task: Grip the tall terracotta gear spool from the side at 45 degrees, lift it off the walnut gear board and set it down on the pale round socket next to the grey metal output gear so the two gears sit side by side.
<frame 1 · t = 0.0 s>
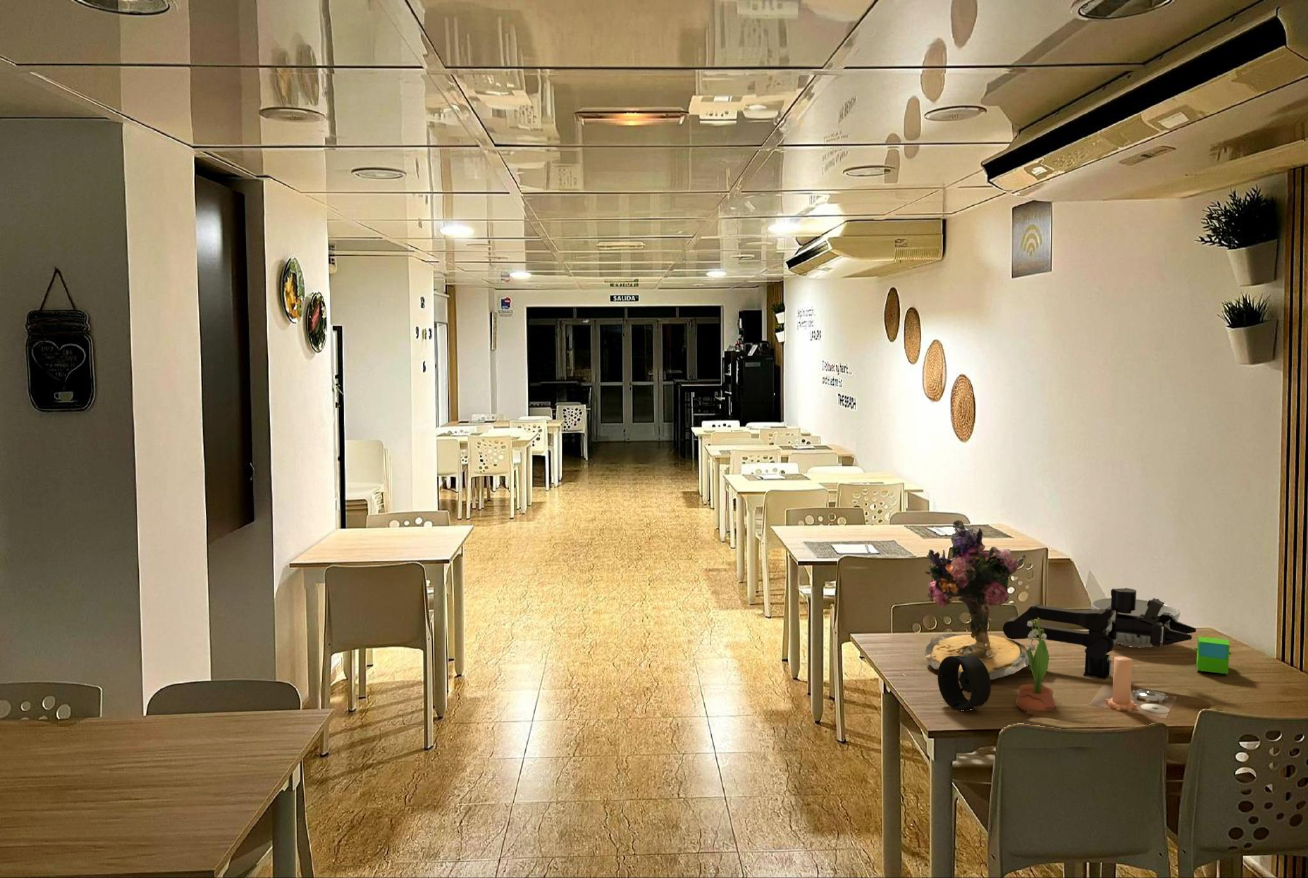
hand: (1193, 633, 307), 17 cm above the table, tool horizontal, fingers open, 9 cm apart
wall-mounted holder: (968, 708, 292), on the table
potted flower: (1033, 709, 292), on the table
gear board: (1133, 705, 295), on the table
bouquet: (978, 669, 328), on the table
output gear: (1149, 698, 297), resting on gear board
blue-striped green cube: (1211, 670, 329), on the table
gear spool: (1120, 706, 290), point 1 cm above the table, touching gear board
decorative bowl: (1133, 643, 358), on the table
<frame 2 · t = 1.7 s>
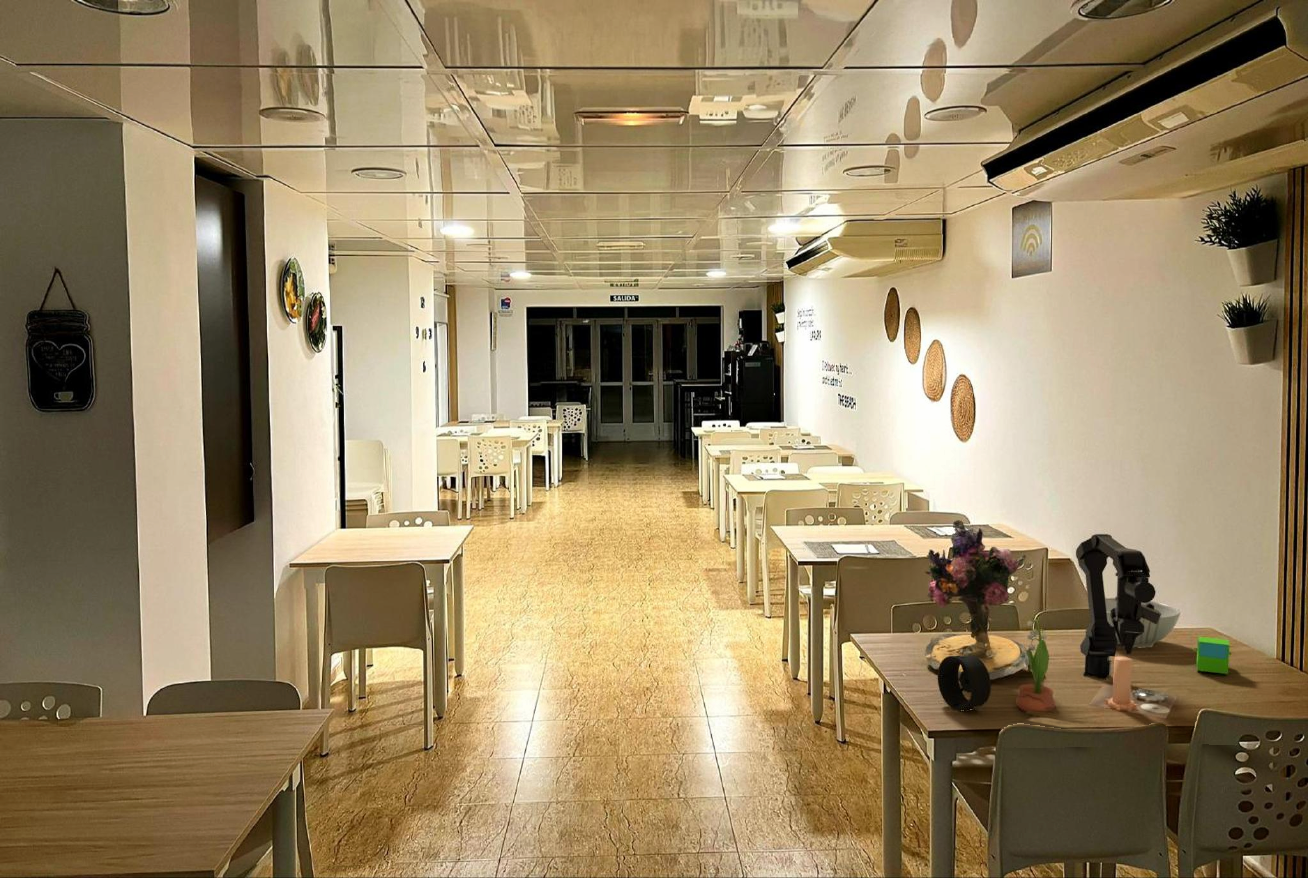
hand: (1125, 650, 303), 13 cm above the table, tool pointing down, fingers open, 9 cm apart
nothing on the table moved.
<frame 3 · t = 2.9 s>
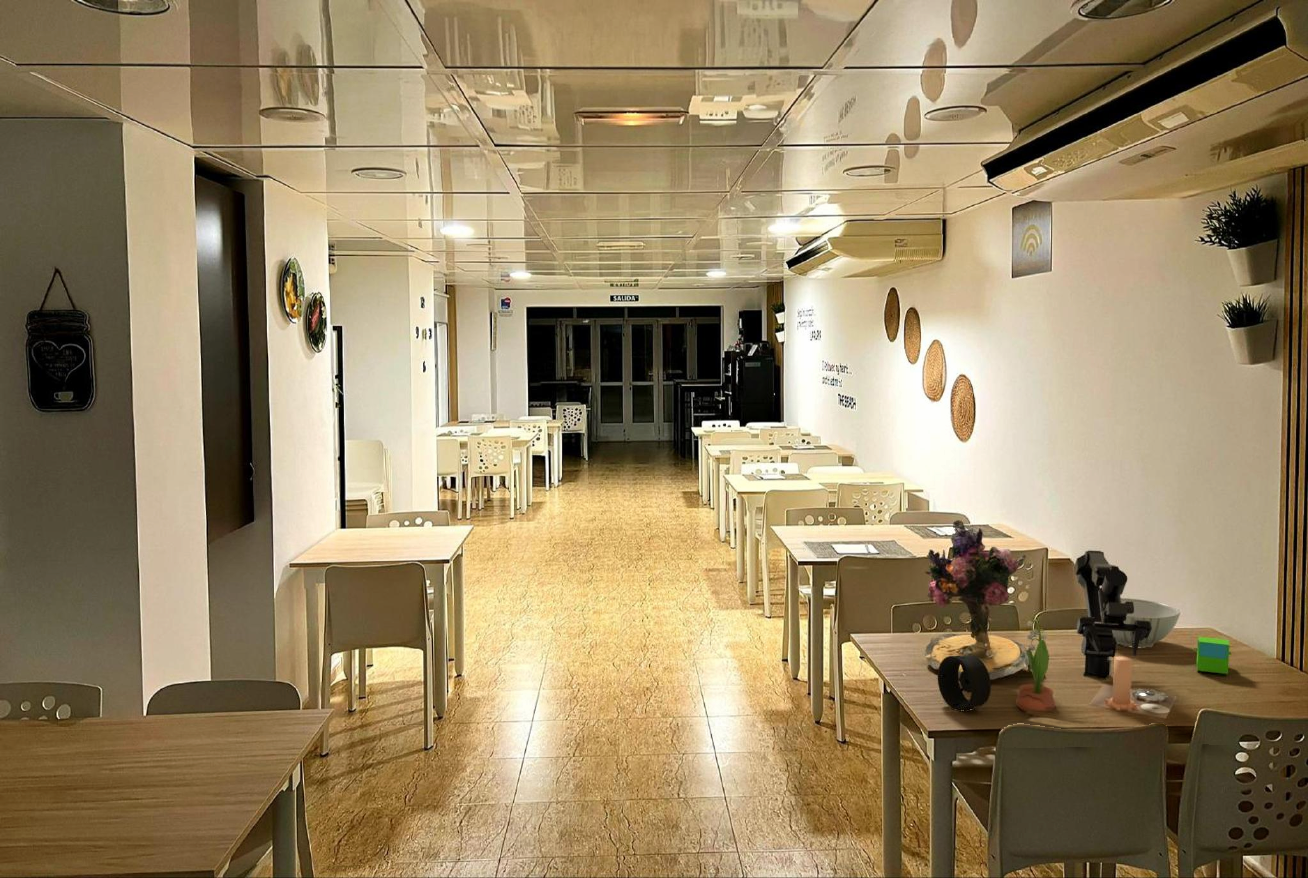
hand: (1117, 654, 297), 13 cm above the table, tool tilted 45°, fingers open, 9 cm apart
nothing on the table moved.
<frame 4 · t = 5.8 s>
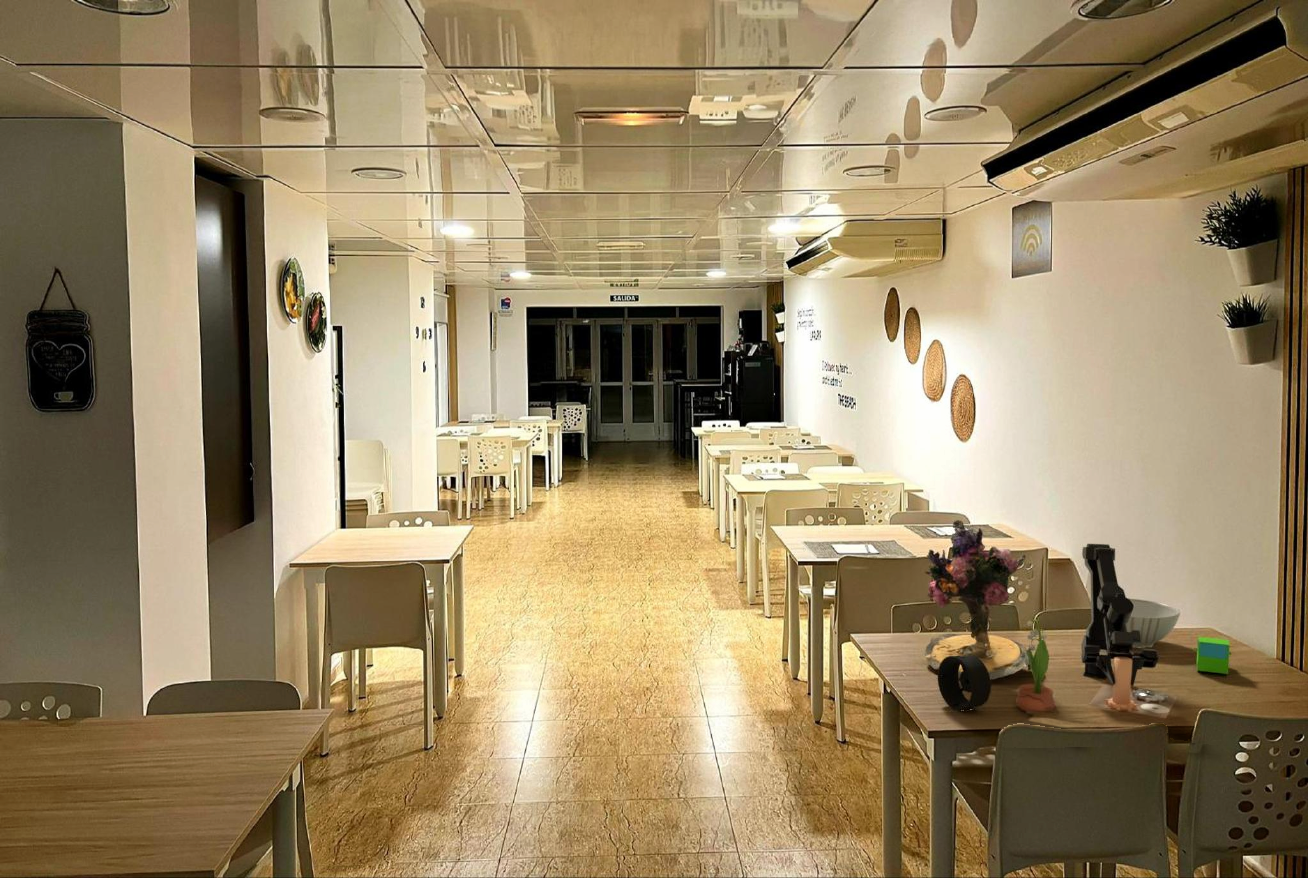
hand: (1123, 684, 288), 8 cm above the table, tool tilted 45°, fingers closed on gear spool, 4 cm apart
gear spool: (1120, 706, 290), point 2 cm above the table, touching gear board, gripper
everything else where it was.
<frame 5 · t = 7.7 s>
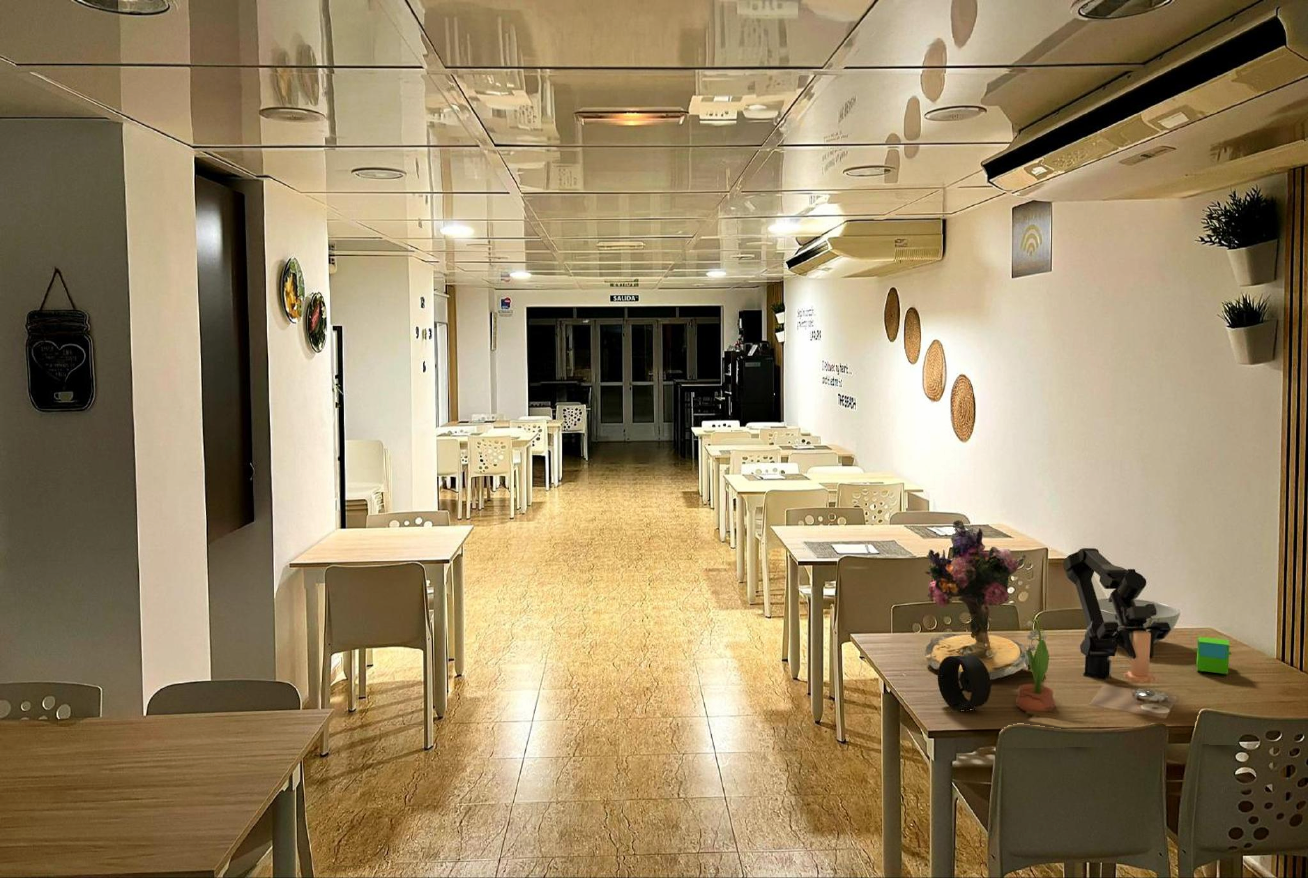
hand: (1143, 657, 294), 13 cm above the table, tool tilted 45°, fingers closed on gear spool, 4 cm apart
gear spool: (1139, 679, 296), point 7 cm above the table, touching gripper
everything else where it was.
when the fingers open (9 cm above the table, at t = 9.7 s): gear spool drops 1 cm, resting on gear board.
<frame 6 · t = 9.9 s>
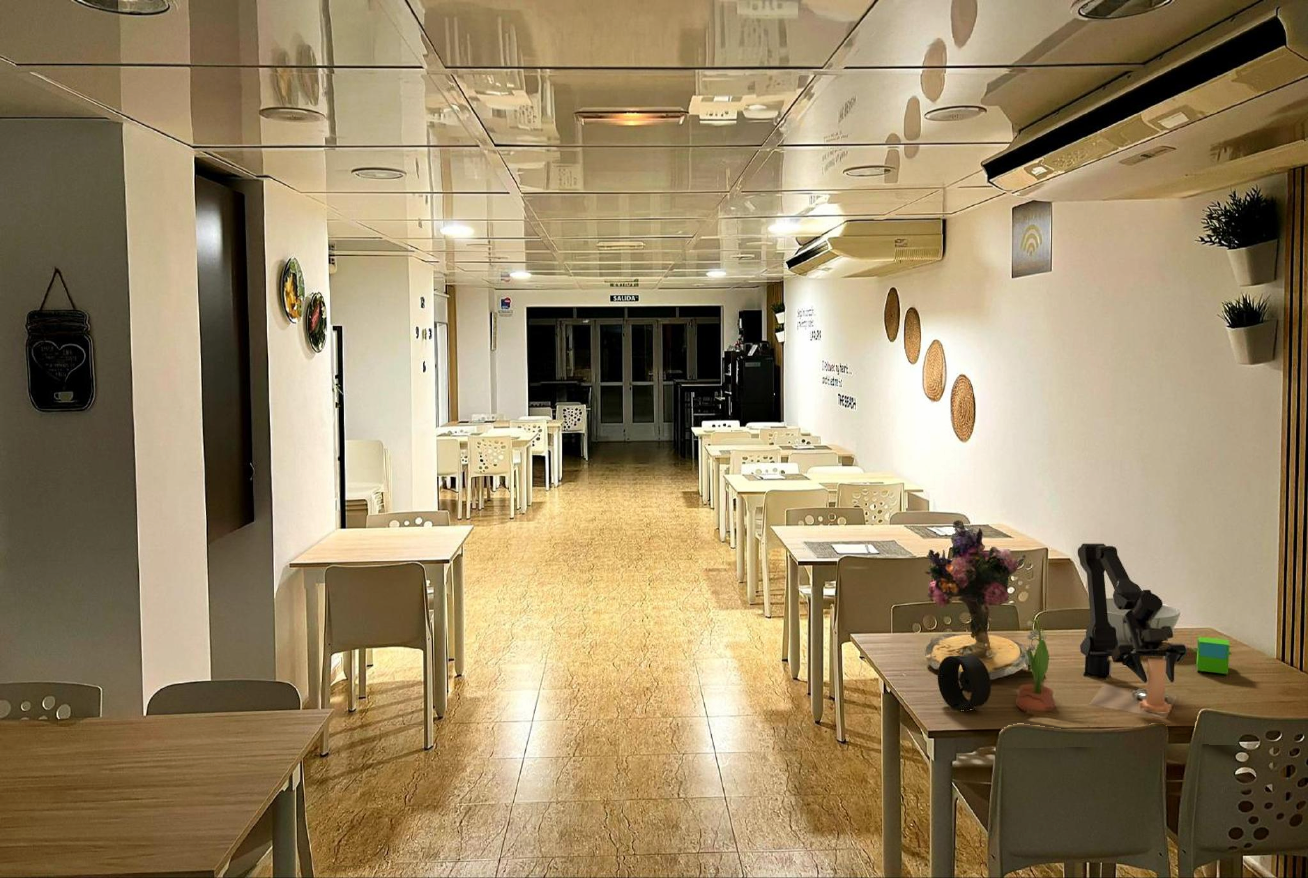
hand: (1159, 681, 286), 9 cm above the table, tool tilted 45°, fingers open, 7 cm apart
gear spool: (1155, 707, 288), point 2 cm above the table, touching gear board
everything else where it was.
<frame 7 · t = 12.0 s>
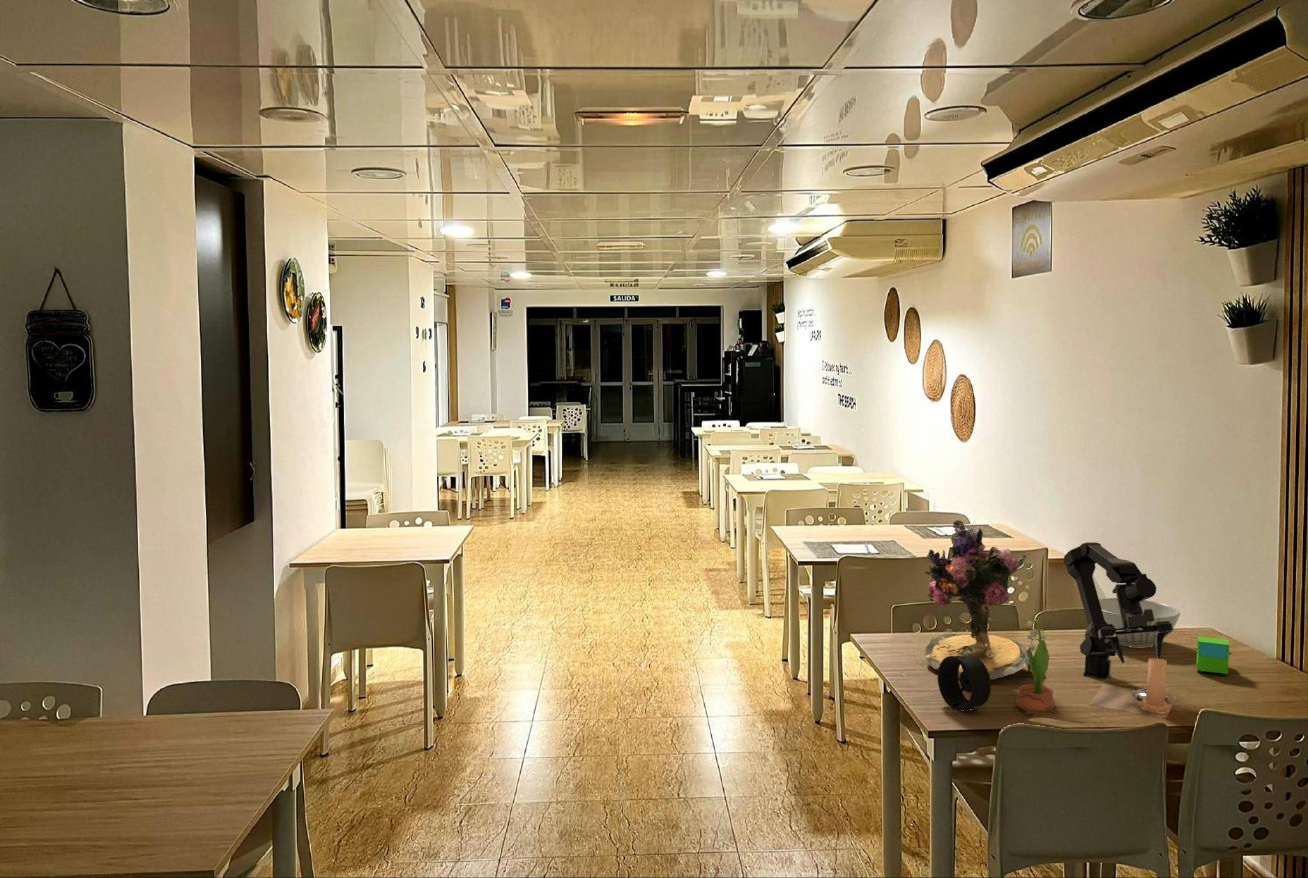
hand: (1141, 661, 299), 11 cm above the table, tool tilted 25°, fingers open, 9 cm apart
nothing on the table moved.
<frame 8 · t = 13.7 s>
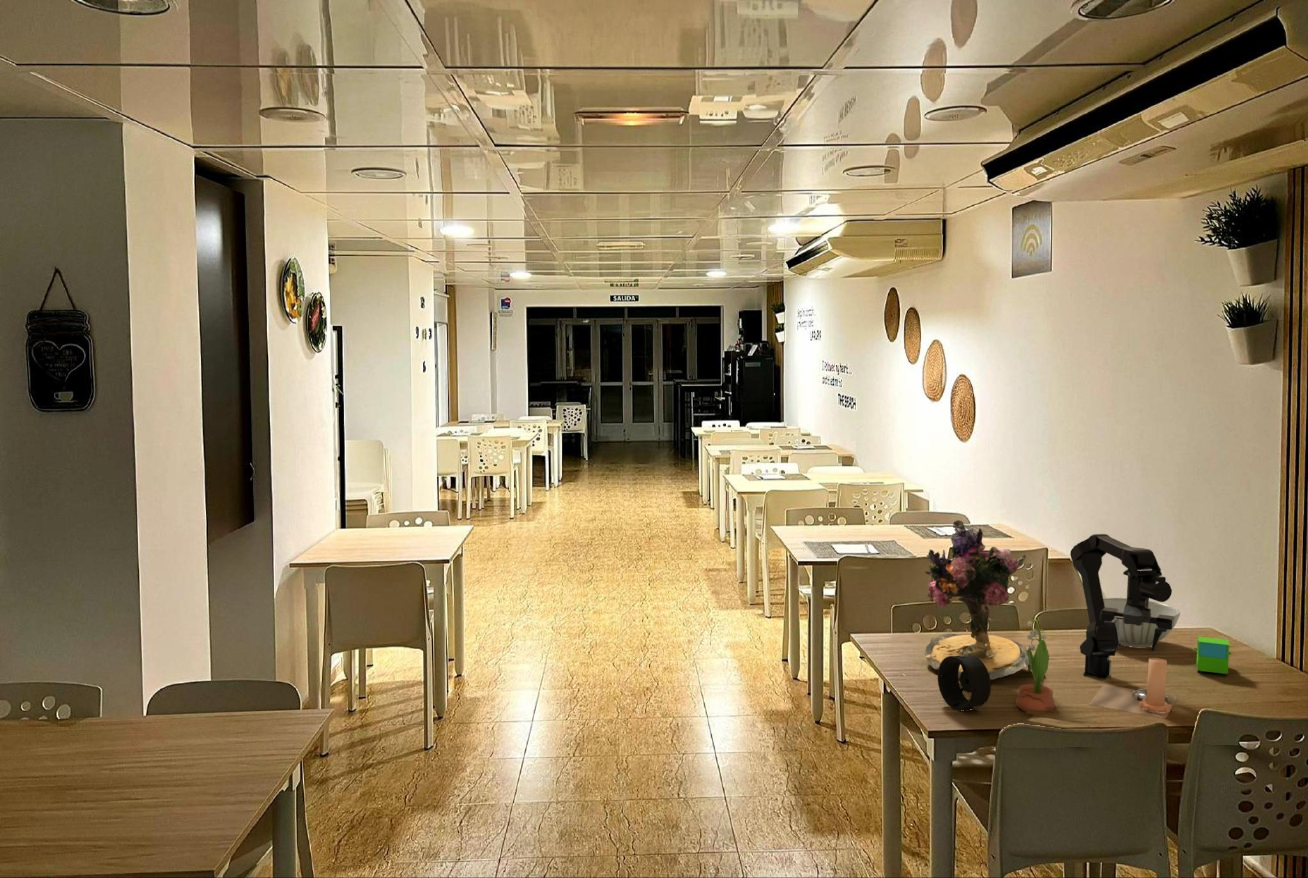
hand: (1135, 648, 305), 13 cm above the table, tool pointing down, fingers open, 9 cm apart
nothing on the table moved.
at the end: gear spool 0.1 cm from the target spot on the gear board, point 1.7 cm above the gear board's base; gear spool tilted 0°; the gripper is holding nothing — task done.
